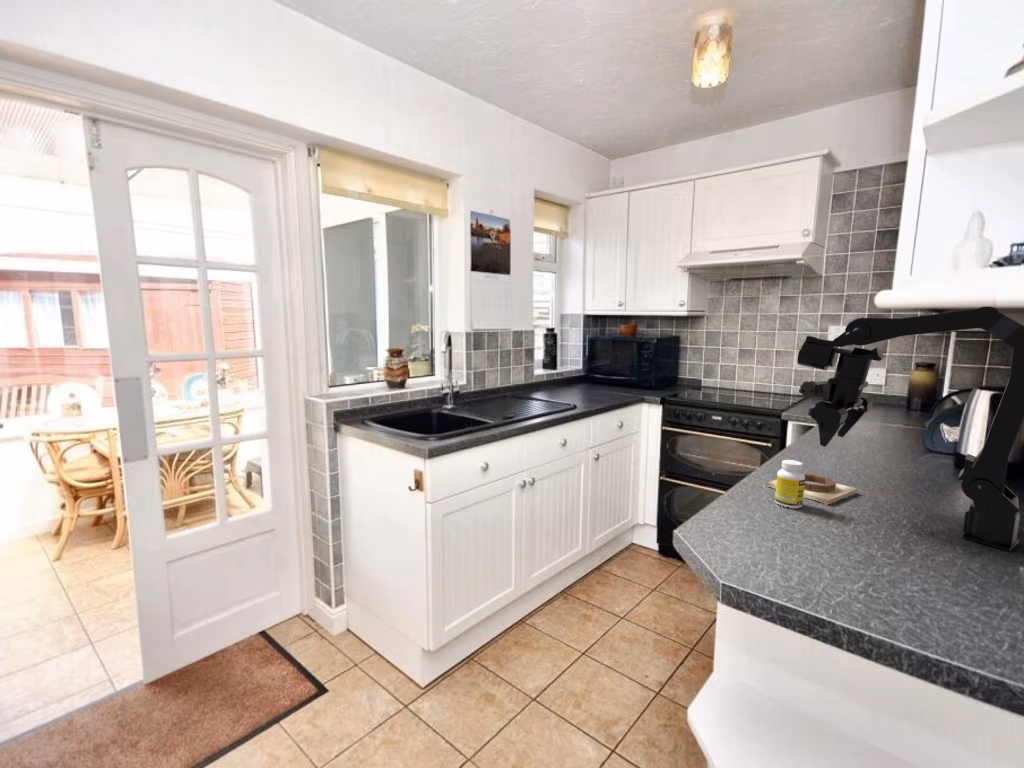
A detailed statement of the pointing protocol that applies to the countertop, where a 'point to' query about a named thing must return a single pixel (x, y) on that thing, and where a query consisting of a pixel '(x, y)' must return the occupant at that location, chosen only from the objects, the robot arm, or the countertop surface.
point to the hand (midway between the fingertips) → (831, 441)
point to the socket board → (824, 496)
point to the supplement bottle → (790, 484)
